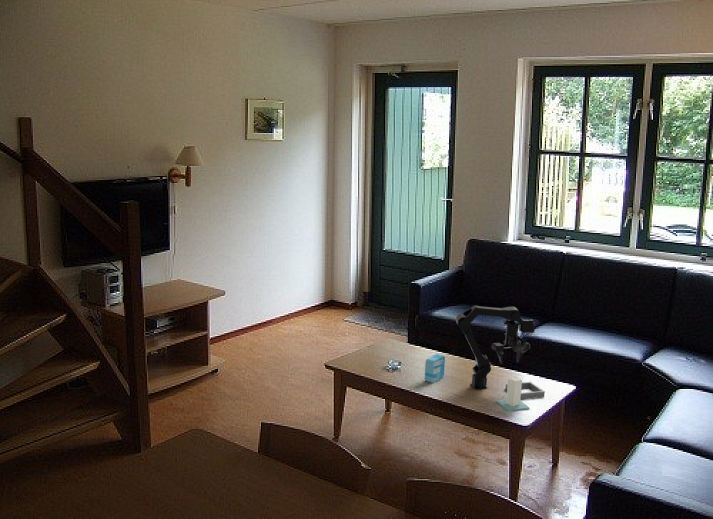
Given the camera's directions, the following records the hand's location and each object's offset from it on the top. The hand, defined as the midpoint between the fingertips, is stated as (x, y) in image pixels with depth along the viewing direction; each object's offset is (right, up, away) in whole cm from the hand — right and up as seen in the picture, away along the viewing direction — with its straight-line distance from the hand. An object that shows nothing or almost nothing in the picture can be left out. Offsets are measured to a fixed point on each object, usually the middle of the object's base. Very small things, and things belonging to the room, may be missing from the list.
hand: (509, 362), depth 346 cm
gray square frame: (+7, -14, -3) cm, 16 cm away
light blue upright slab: (-36, -10, +10) cm, 39 cm away
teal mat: (-3, -17, -20) cm, 26 cm away
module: (-3, -16, -20) cm, 26 cm away
